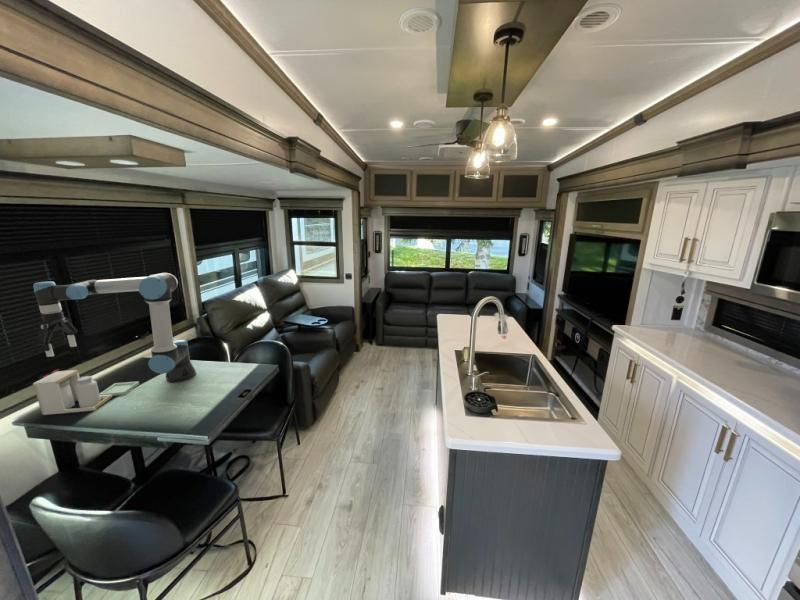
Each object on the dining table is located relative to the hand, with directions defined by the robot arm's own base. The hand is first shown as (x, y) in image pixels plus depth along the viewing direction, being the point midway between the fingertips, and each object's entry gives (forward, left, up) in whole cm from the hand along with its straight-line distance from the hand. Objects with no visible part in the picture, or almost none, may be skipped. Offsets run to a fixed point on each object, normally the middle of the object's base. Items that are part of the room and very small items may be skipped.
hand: (62, 351), depth 166 cm
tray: (-20, -4, -26) cm, 33 cm away
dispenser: (-9, +10, -26) cm, 30 cm away
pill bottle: (-15, +10, -27) cm, 32 cm away
